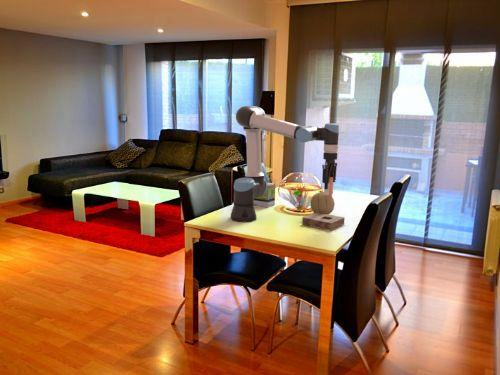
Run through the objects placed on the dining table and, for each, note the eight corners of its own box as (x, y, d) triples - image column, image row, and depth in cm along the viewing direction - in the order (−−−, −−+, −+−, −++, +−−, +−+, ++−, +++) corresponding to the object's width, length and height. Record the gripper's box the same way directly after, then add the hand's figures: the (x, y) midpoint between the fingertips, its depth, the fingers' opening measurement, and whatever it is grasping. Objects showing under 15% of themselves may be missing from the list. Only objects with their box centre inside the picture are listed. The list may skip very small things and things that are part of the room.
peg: (323, 198, 240) (324, 177, 238) (326, 197, 243) (327, 176, 241) (329, 199, 237) (330, 178, 235) (333, 198, 241) (334, 177, 238)
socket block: (302, 224, 243) (302, 217, 243) (316, 218, 256) (316, 212, 255) (331, 230, 233) (331, 223, 232) (344, 224, 245) (344, 217, 244)
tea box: (275, 205, 288) (275, 183, 286) (267, 207, 280) (268, 185, 277) (256, 201, 296) (256, 180, 293) (248, 204, 288) (248, 182, 285)
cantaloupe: (325, 220, 253) (326, 195, 250) (304, 215, 263) (306, 191, 260) (338, 215, 264) (340, 191, 261) (318, 211, 274) (319, 188, 271)
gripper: (329, 154, 226) (327, 197, 231) (343, 151, 240) (341, 192, 244) (316, 152, 231) (314, 195, 235) (331, 150, 244) (329, 191, 249)
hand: (328, 194), depth 240 cm, fingers closed on peg, 4 cm apart
